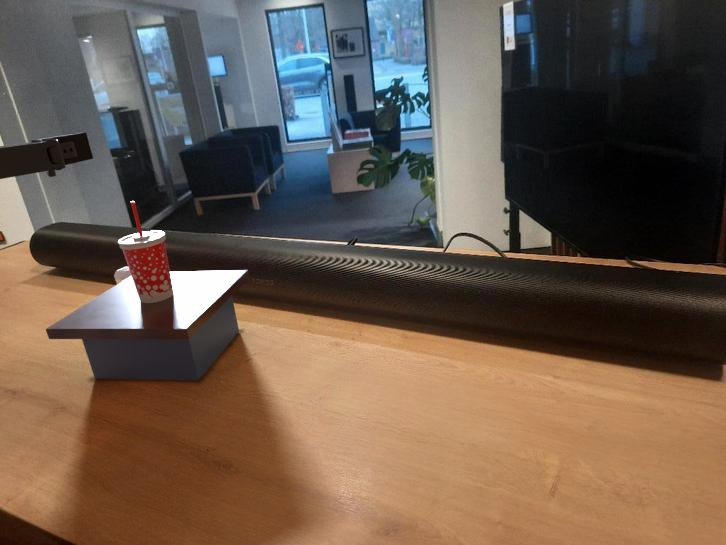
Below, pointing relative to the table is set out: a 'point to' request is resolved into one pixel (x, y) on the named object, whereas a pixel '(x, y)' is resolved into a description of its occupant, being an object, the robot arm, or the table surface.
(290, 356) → the table surface
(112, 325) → the board
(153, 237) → the beverage cup
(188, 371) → the blue box
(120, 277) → the milkshake
